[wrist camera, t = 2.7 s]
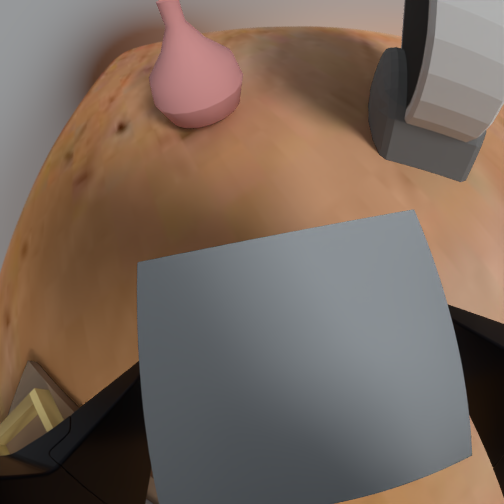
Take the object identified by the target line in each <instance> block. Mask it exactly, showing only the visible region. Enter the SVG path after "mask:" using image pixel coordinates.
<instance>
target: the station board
mask: <svg viewBox="0 0 504 504" xmlns="http://www.w3.org/2000/svg"><path fill="white" fill-rule="evenodd" d="M78 409H79V407H78V406H77V405H76V404H75V403H74V402H73V401H72V400H71V399H70V398H69V397H68V396H67V395H66V394H65V393H64V392H63V391H62V390H61V389H60V388H59V387H58V386H57V385H56V384H55V382H54V381H53V380H52V379H51V378H50V377H49V376H48V375H47V373H46V372H45V371H44V370H43V369H42V368H41V366H40V365H39V364H38V363H37V362H33V361H29V360H28V362H27V365H26V367H25V370H24V372H23V375H22V377H21V380H20V382H19V385H18V388H17V390H16V393H15V396H14V399H13V402H12V405H11V408H10V411H9V414H8V416H7V417H6V419H5V420H4V421H3V422H2V423H1V424H0V456H3V455H9V454H12V453H15V452H17V451H19V450H20V449H22V448H23V447H25V446H26V445H28V444H30V443H31V442H33V441H34V440H36V439H37V438H39V437H41V436H42V435H44V434H45V433H47V432H48V431H50V430H51V429H53V428H54V427H55V426H57V425H58V424H59V423H61V422H62V421H63V420H65V419H66V418H67V417H68V416H71V414H72V413H74V412H75V411H76V410H78ZM146 504H159V502H158V497H157V492H156V488H155V483H154V477H153V472H152V469H151V475H150V480H149V486H148V492H147V498H146Z"/></svg>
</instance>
